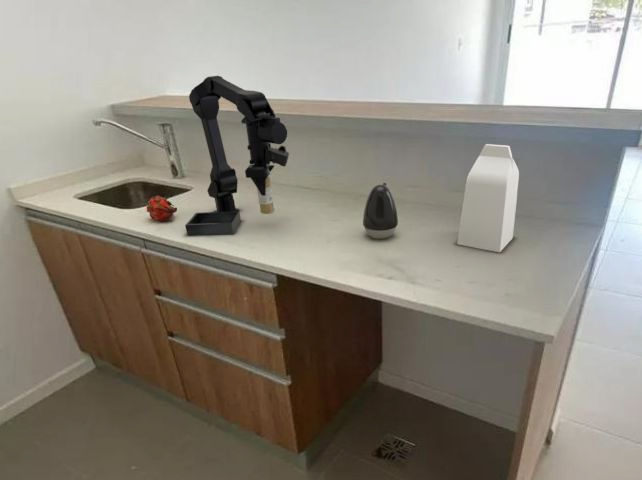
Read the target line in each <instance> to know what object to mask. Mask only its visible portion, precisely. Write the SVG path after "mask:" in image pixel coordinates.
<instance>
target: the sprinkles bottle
mask: <svg viewBox="0 0 642 480" xmlns="http://www.w3.org/2000/svg"><path fill="white" fill-rule="evenodd" d="M269 173H270V174H269V176H268V177H267V178H266V194H265V196H262V195H261V193H260V192H259V190H258V188H257V187H256V189H257V190H256V191H257V198H258V203H259V208H260V209H259V210H260V214H263V215H269V214H270V215H271V214H273V213H274V212H275V205H274V197H273V191H272V190H273V189H272V185H271V171H270V172H269Z"/></svg>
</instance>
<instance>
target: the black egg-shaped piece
mask: <svg viewBox="0 0 642 480" xmlns="http://www.w3.org/2000/svg"><path fill="white" fill-rule="evenodd" d="M362 216H363V218H362V226H363V228H364V230H365V233H366V234H367V235H368V236H369V237H371V238H373V239H377V240H382V239H388V238H389V237H391V236H393V235H394V233H395V232H396V230H397V227H398V225H399V219H398V218H399V217H398V211H397V207H396V202H395V199H394V196H393V194H392V191H391V190H390V189H389V187H388V186H387V183H386V182H383V183H382V184H376V185H374V186H373V187H372V188H371V190H370V192H369V193H368V196H367V198H366V203H365V207H364V211H363V215H362Z"/></svg>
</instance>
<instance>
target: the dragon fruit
mask: <svg viewBox="0 0 642 480" xmlns="http://www.w3.org/2000/svg"><path fill="white" fill-rule="evenodd" d="M177 211H178V207H175V205H173V204H172V202H171V201H170V200H168V198H166V197H165V196H164V197H162V196H160V195H155V196H152V197H151V198H150V199H149V200H148V202H147V206H146V212H147V213H149V216H150V218H151V219H152V220H153V221H154V220H156V219H157V220H158V221H160V222H164V223H165V222H168V220H167V219H169V218H171V219H172V218H173V217H174V216H175V215H174V213H176V212H177Z"/></svg>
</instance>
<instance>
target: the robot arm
mask: <svg viewBox="0 0 642 480" xmlns="http://www.w3.org/2000/svg"><path fill="white" fill-rule="evenodd" d="M221 98H223V99H224V100H226V101H228V102H230V103H232V104H234V105H235V106H236V110H237V111H238V112H239V113H240V114H241V115H243V118H242V119H241V120H240V122H241V124H245V129H246V137H247V142H248V143H247V144H248V145H247V151H248V150H249V157H250V159H249V165H248V166H247V167H246V169H245V170H244V173H245V178H247V179H251V181H252V182H253V184H254V186H255V187H256V189H257V188H258V190H259V192H260V193H261V195H262V196H265V194H266V178H267V177H268V176H269V174H270V175H271V172H272V171H273V169H274V167H275V165H276V164H277V165H279V166H281V167H287V164H288V160H289V156H290V153H289V151H287V147H286V146H285V145H282V144H284V143H285V141H286V140H287V137H288V129H287V128H286V125H285V124H284V123H283V122H281V118H280V117H277V116H276V114H275V111H274V109H273V108H272V107H271V105H270V103H269V101H268V99H267V97H266V95H265V94H264V93H263V92H262V91H258V90H248V89H244V88H241V87H240V86H238V85H236V84H234V83H233V82H230V81H228V80H226V79H225V78H224V77H222V76H220V75H211V76H206V77H205V78H204V79H203V81H202V82H201V83H198V85H196V86H194V87H193V88H192V89H191V90H190V93H189V95H188V99H189V102H190V105H191V107H192V110H193V112H194V114H195V115H196V116H197V117H198V118H199V119H200V121H201V125H202V129H203V134H204V137H205V141H206V146H207V149H208V153H209V159H210V161H211V166H212V167H211V169H210V174H209V178H210V183H209V186H208V188H207V195H208V196H209V197H210V198H213V199H214V202H215V208H216V209H215V210H213V211H212V212H229V211H239V212H240V209H239V208H237V207H236V204H235V199H234V194H237V193H238V181H239V180H238V176H237V171H236V169H235V168H232V167H231V166H230V165H229V164H228V160H227V156H226V151H225V148H224V147H225V146H224V143H223V139H222V135H221V131H220V125H219V121H218V115H219V111H220V102H219V100H220V99H221ZM272 144H274V145H279V147H278V148H277V147H275V148H274V147H272ZM271 163H272V164H271ZM270 164H271V165H270ZM273 164H274V165H273ZM269 172H270V173H269Z"/></svg>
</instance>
